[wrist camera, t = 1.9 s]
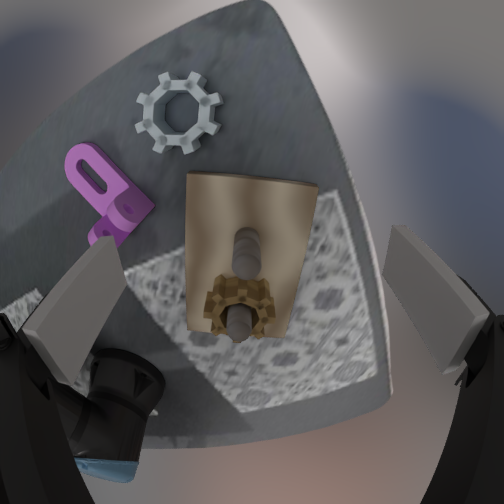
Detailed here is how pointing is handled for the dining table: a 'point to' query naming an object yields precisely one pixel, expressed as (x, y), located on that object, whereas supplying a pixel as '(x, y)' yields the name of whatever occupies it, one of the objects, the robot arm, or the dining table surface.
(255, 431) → the dining table surface
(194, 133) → the gear
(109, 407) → the robot arm
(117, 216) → the bracket
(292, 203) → the gear board
